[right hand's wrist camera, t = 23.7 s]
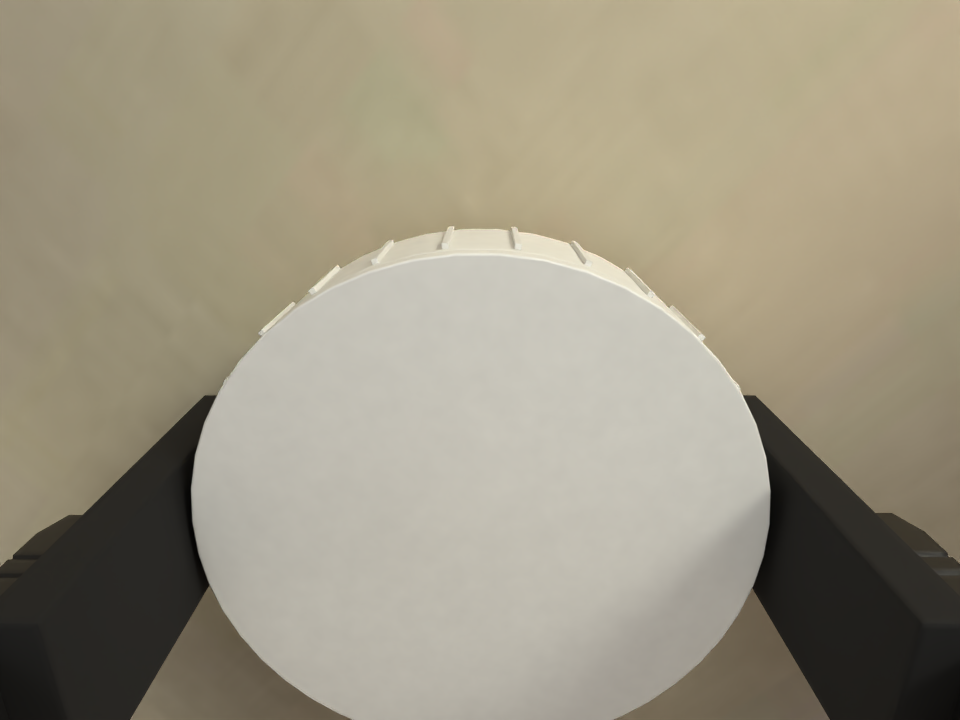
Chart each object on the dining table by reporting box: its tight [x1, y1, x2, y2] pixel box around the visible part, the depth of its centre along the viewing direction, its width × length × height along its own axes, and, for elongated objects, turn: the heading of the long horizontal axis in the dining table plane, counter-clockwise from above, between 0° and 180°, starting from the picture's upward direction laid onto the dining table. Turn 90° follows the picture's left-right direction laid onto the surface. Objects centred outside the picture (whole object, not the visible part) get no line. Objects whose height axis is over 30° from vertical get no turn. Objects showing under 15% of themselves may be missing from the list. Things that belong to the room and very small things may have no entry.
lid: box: [191, 226, 770, 720], centre depth 12 cm, size 10×10×2 cm
